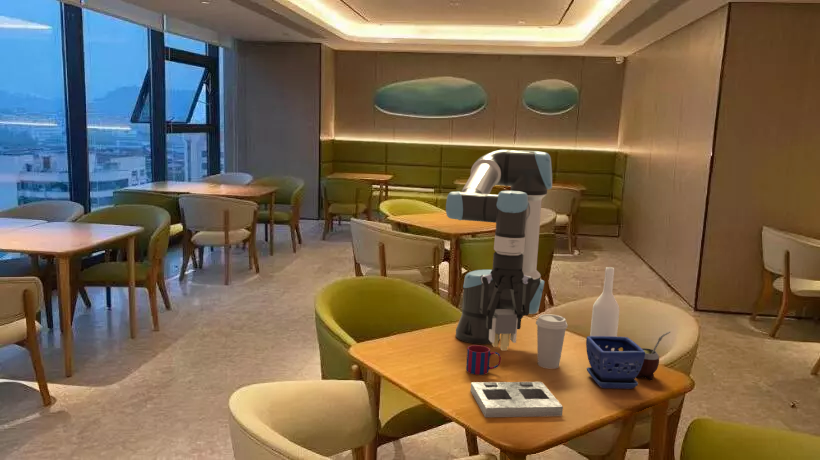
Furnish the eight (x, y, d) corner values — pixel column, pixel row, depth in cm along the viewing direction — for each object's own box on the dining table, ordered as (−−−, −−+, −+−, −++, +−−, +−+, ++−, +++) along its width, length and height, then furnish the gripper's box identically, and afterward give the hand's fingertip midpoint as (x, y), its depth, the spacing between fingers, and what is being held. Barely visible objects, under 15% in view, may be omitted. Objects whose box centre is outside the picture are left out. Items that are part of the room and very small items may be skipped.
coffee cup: (564, 372, 192) (568, 324, 190) (532, 368, 194) (536, 320, 191) (563, 361, 201) (567, 315, 199) (532, 357, 203) (536, 312, 201)
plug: (489, 344, 168) (492, 309, 166) (508, 344, 168) (511, 309, 167) (495, 350, 163) (497, 314, 161) (514, 350, 163) (516, 314, 162)
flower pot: (643, 392, 180) (647, 351, 178) (597, 391, 179) (601, 350, 177) (624, 374, 193) (628, 336, 191) (581, 373, 192) (584, 335, 190)
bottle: (599, 365, 199) (608, 271, 194) (582, 356, 206) (591, 265, 201) (619, 363, 202) (629, 270, 197) (602, 354, 209) (611, 264, 205)
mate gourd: (627, 373, 194) (632, 325, 191) (648, 371, 196) (653, 323, 194) (644, 382, 187) (649, 333, 184) (665, 380, 190) (671, 331, 187)
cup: (469, 365, 194) (470, 343, 193) (501, 370, 191) (503, 348, 190) (463, 372, 188) (465, 350, 187) (497, 378, 185) (498, 355, 184)
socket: (470, 391, 175) (471, 381, 174) (540, 390, 178) (541, 380, 177) (485, 417, 159) (486, 406, 159) (562, 416, 162) (563, 405, 162)
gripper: (477, 254, 157) (471, 345, 160) (548, 256, 159) (540, 345, 163) (470, 248, 164) (464, 336, 168) (537, 250, 167) (531, 336, 170)
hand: (502, 340), depth 165 cm, fingers closed on plug, 5 cm apart
